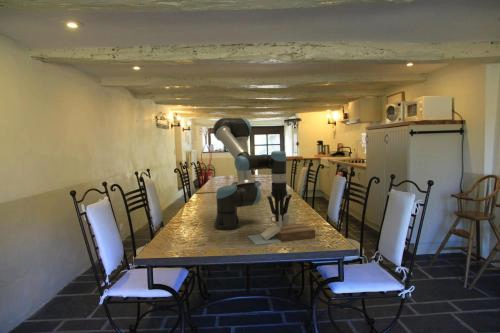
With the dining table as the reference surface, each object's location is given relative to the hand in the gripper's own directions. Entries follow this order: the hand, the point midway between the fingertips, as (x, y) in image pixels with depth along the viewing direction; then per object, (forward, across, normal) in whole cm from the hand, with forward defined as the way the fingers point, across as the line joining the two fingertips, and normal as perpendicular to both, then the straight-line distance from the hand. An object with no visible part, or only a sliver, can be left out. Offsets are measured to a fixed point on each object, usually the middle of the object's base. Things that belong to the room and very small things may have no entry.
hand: (279, 227), depth 166 cm
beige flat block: (+3, -4, 0) cm, 5 cm away
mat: (+5, -9, 0) cm, 10 cm away
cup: (+5, +8, +18) cm, 20 cm away
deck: (+5, +7, 0) cm, 9 cm away
